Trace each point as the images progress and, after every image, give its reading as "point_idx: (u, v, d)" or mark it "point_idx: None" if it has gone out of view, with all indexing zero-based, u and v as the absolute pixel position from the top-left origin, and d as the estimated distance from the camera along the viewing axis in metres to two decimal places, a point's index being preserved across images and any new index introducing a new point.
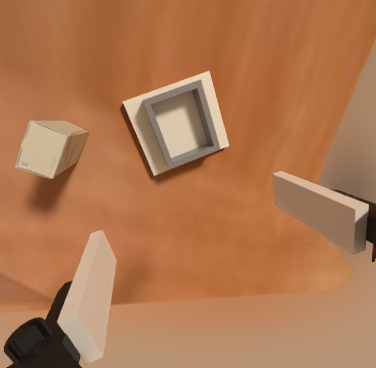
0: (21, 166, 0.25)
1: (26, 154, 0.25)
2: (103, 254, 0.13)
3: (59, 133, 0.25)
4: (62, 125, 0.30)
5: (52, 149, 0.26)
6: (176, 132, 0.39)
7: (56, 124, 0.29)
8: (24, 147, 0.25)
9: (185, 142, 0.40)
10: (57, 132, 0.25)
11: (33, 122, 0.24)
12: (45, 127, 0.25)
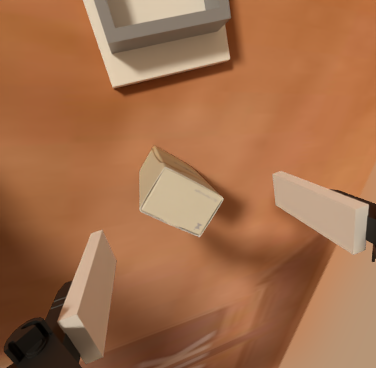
0: (199, 230, 0.19)
1: (185, 222, 0.18)
2: (103, 254, 0.13)
3: (159, 177, 0.16)
4: (146, 173, 0.22)
5: (182, 190, 0.17)
6: None
7: (144, 180, 0.21)
8: (175, 222, 0.18)
9: None
10: (158, 179, 0.16)
11: (142, 207, 0.17)
12: (149, 193, 0.17)
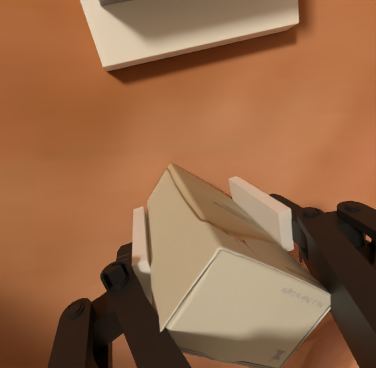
0: (279, 361, 0.09)
1: (253, 352, 0.08)
2: (147, 225, 0.15)
3: (206, 271, 0.06)
4: (161, 221, 0.12)
5: (254, 294, 0.07)
6: None
7: (160, 239, 0.11)
8: (231, 355, 0.08)
9: None
10: (202, 276, 0.07)
11: None
12: (180, 308, 0.07)
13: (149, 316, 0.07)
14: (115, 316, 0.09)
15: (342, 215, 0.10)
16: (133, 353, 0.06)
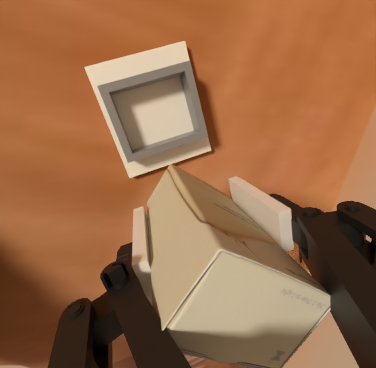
0: (279, 362, 0.09)
1: (253, 353, 0.08)
2: (147, 225, 0.15)
3: (206, 272, 0.07)
4: (161, 222, 0.12)
5: (254, 295, 0.07)
6: (163, 119, 0.32)
7: (160, 240, 0.11)
8: (232, 356, 0.08)
9: (176, 108, 0.32)
10: (202, 278, 0.07)
11: None
12: (180, 309, 0.07)
13: (150, 316, 0.07)
14: (115, 316, 0.09)
15: (342, 215, 0.10)
16: (133, 353, 0.06)
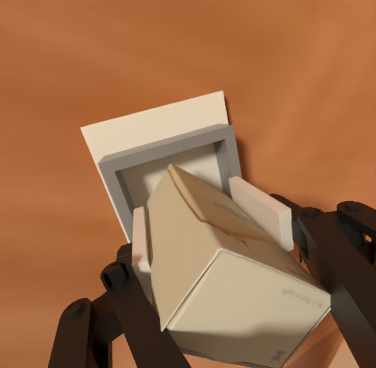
0: (279, 362, 0.09)
1: (253, 352, 0.08)
2: (147, 225, 0.15)
3: (206, 272, 0.07)
4: (161, 221, 0.12)
5: (254, 295, 0.07)
6: None
7: (160, 239, 0.11)
8: (232, 356, 0.08)
9: (204, 176, 0.23)
10: (202, 277, 0.07)
11: None
12: (180, 308, 0.07)
13: (150, 316, 0.07)
14: (115, 316, 0.09)
15: (342, 215, 0.10)
16: (133, 353, 0.06)
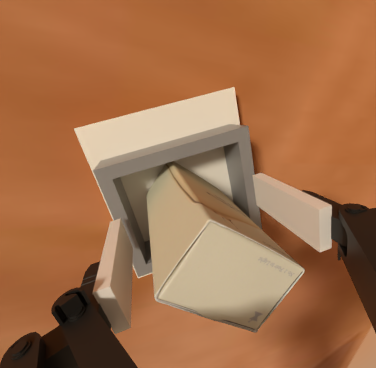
0: (257, 322, 0.10)
1: (235, 312, 0.10)
2: (123, 240, 0.14)
3: (198, 238, 0.08)
4: (160, 207, 0.14)
5: (236, 261, 0.09)
6: None
7: (159, 222, 0.13)
8: (217, 314, 0.10)
9: (212, 182, 0.21)
10: (194, 243, 0.08)
11: (159, 293, 0.09)
12: (176, 269, 0.08)
13: (111, 348, 0.07)
14: (72, 353, 0.08)
15: None
16: None
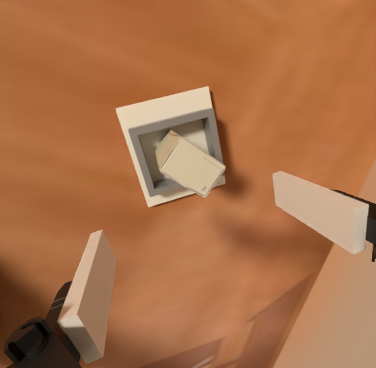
0: (205, 192, 0.23)
1: (194, 184, 0.23)
2: (103, 254, 0.13)
3: (177, 144, 0.21)
4: (163, 148, 0.27)
5: (193, 157, 0.22)
6: None
7: (162, 152, 0.25)
8: (186, 183, 0.22)
9: (196, 145, 0.34)
10: (175, 146, 0.21)
11: (161, 168, 0.21)
12: (168, 157, 0.21)
13: None
14: None
15: None
16: None
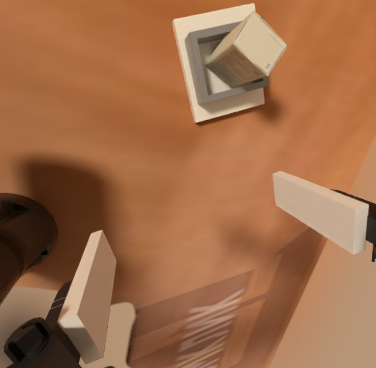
0: (268, 70, 0.27)
1: (260, 60, 0.26)
2: (103, 254, 0.13)
3: (249, 18, 0.24)
4: (222, 45, 0.30)
5: (261, 32, 0.25)
6: None
7: (225, 44, 0.29)
8: (253, 59, 0.26)
9: None
10: (248, 20, 0.24)
11: (235, 41, 0.25)
12: (241, 31, 0.25)
13: None
14: None
15: None
16: None
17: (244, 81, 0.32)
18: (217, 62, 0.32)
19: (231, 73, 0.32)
